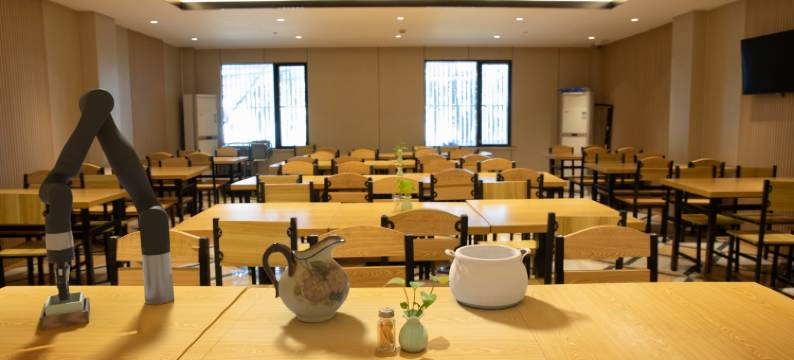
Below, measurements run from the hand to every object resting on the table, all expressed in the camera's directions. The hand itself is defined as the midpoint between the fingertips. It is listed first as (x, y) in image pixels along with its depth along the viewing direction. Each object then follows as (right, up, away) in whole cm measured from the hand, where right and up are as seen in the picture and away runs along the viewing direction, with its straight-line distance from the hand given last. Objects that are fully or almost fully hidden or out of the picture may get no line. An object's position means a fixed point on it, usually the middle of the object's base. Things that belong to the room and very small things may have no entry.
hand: (64, 296), depth 190 cm
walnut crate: (0, -8, +1) cm, 8 cm away
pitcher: (+78, -7, +2) cm, 79 cm away
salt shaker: (0, -7, +1) cm, 7 cm away
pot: (+136, -4, +16) cm, 137 cm away
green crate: (0, -7, +1) cm, 7 cm away
